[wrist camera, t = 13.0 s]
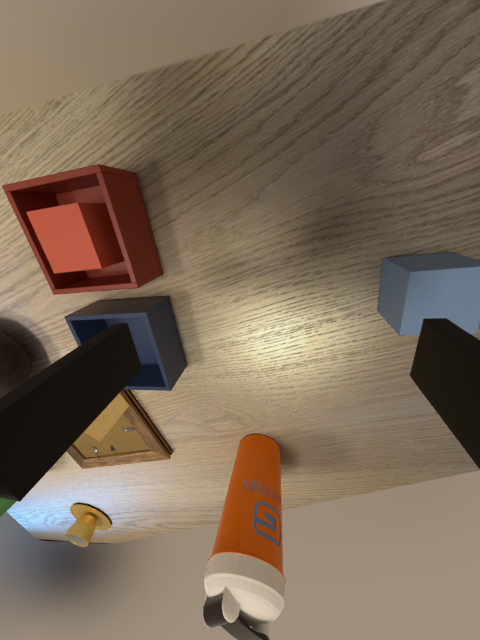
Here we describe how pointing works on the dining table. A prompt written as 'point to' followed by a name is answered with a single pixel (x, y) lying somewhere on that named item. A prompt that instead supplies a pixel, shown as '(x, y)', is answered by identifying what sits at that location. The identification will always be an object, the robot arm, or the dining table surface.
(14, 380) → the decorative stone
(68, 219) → the red block
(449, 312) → the blue block
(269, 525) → the shaker bottle
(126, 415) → the picture frame
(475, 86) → the dining table surface
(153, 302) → the blue bin
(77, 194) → the red bin
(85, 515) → the cup
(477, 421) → the robot arm
